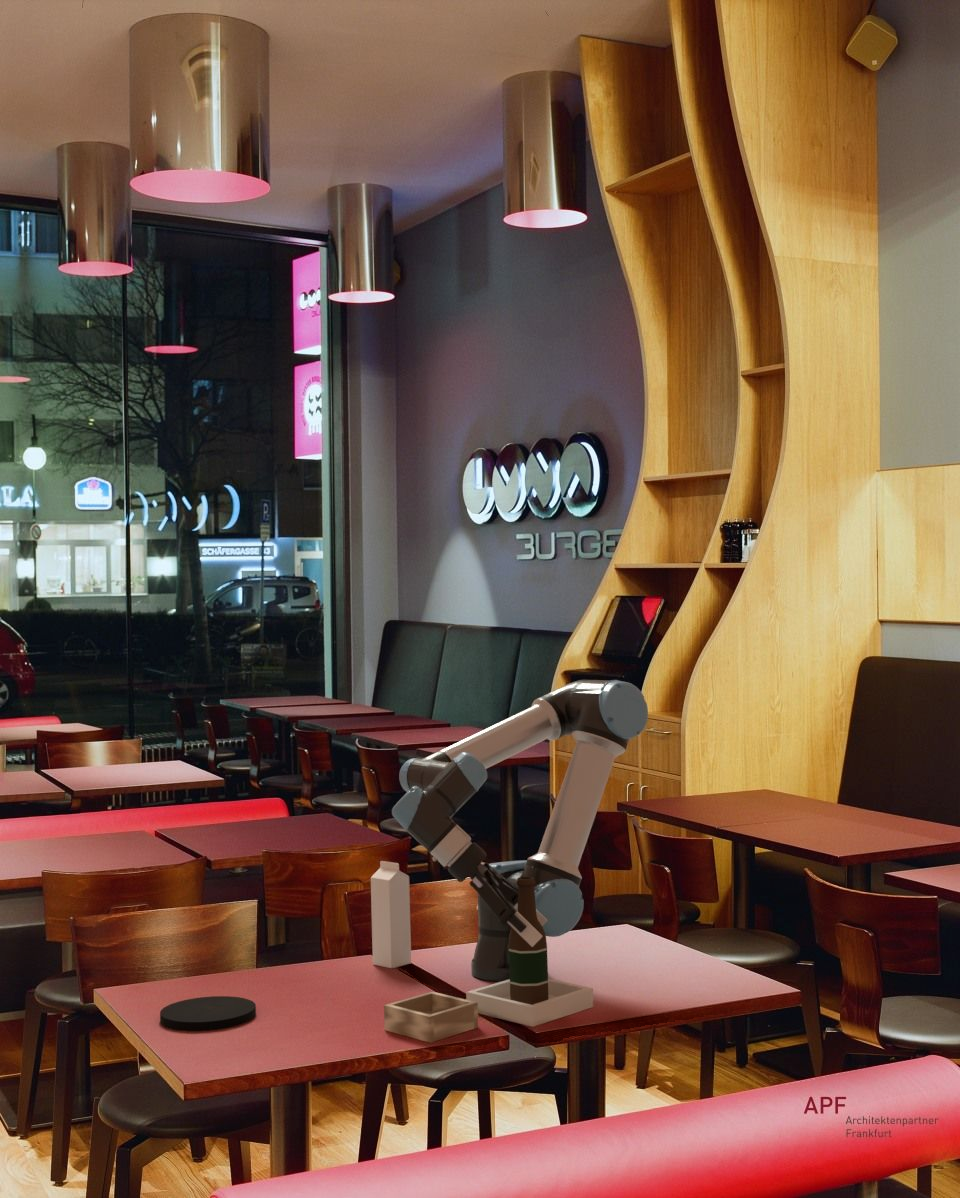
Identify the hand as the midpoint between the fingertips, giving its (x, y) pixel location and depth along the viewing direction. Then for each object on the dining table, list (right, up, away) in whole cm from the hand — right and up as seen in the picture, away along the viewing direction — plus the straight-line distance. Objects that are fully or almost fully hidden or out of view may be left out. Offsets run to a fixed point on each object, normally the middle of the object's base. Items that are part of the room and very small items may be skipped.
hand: (540, 933), depth 266 cm
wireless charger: (-63, -16, 0) cm, 65 cm away
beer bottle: (-2, -14, 0) cm, 14 cm away
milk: (-30, -16, +38) cm, 51 cm away
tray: (-2, -14, 0) cm, 14 cm away
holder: (-20, -15, -11) cm, 27 cm away
